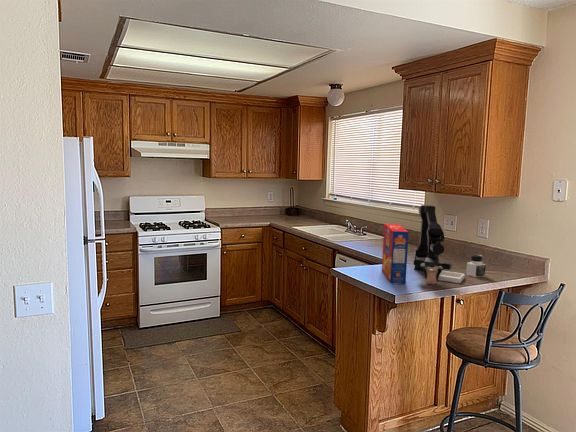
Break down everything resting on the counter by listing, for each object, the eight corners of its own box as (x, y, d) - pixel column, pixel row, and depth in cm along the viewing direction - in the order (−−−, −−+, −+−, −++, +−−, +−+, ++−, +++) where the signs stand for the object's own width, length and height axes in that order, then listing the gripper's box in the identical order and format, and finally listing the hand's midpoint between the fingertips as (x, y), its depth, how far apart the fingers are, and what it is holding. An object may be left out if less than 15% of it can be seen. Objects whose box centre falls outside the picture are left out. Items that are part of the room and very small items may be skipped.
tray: (433, 279, 242) (433, 275, 242) (439, 274, 254) (439, 270, 254) (459, 283, 235) (460, 279, 235) (464, 278, 247) (464, 273, 247)
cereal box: (381, 270, 260) (384, 223, 257) (395, 271, 260) (398, 224, 256) (390, 283, 232) (393, 231, 229) (405, 284, 232) (408, 231, 228)
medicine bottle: (475, 277, 249) (477, 256, 247) (466, 274, 255) (467, 254, 254) (485, 276, 252) (486, 255, 250) (475, 273, 258) (476, 253, 257)
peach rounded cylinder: (425, 283, 234) (426, 270, 233) (427, 281, 238) (428, 268, 238) (435, 284, 232) (436, 271, 231) (437, 282, 236) (438, 269, 235)
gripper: (411, 251, 231) (409, 280, 233) (448, 255, 221) (446, 286, 223) (417, 247, 240) (415, 275, 242) (453, 252, 231) (451, 281, 233)
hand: (431, 279), depth 235 cm, fingers closed on peach rounded cylinder, 5 cm apart
